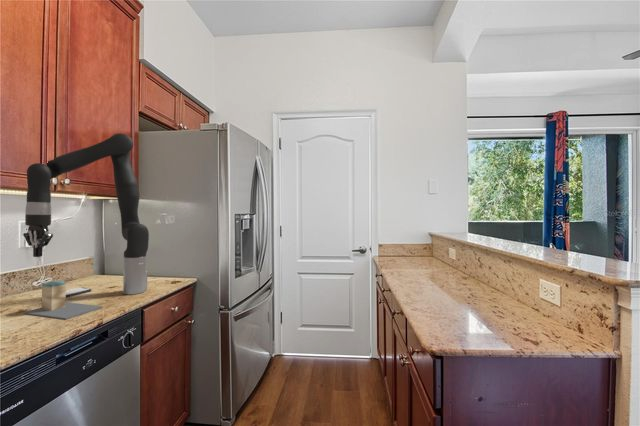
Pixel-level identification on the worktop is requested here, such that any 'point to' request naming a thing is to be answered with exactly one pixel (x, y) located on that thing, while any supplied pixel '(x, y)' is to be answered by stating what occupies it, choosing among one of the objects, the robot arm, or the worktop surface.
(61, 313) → the slate mat
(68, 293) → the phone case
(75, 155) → the robot arm
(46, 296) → the maple block
